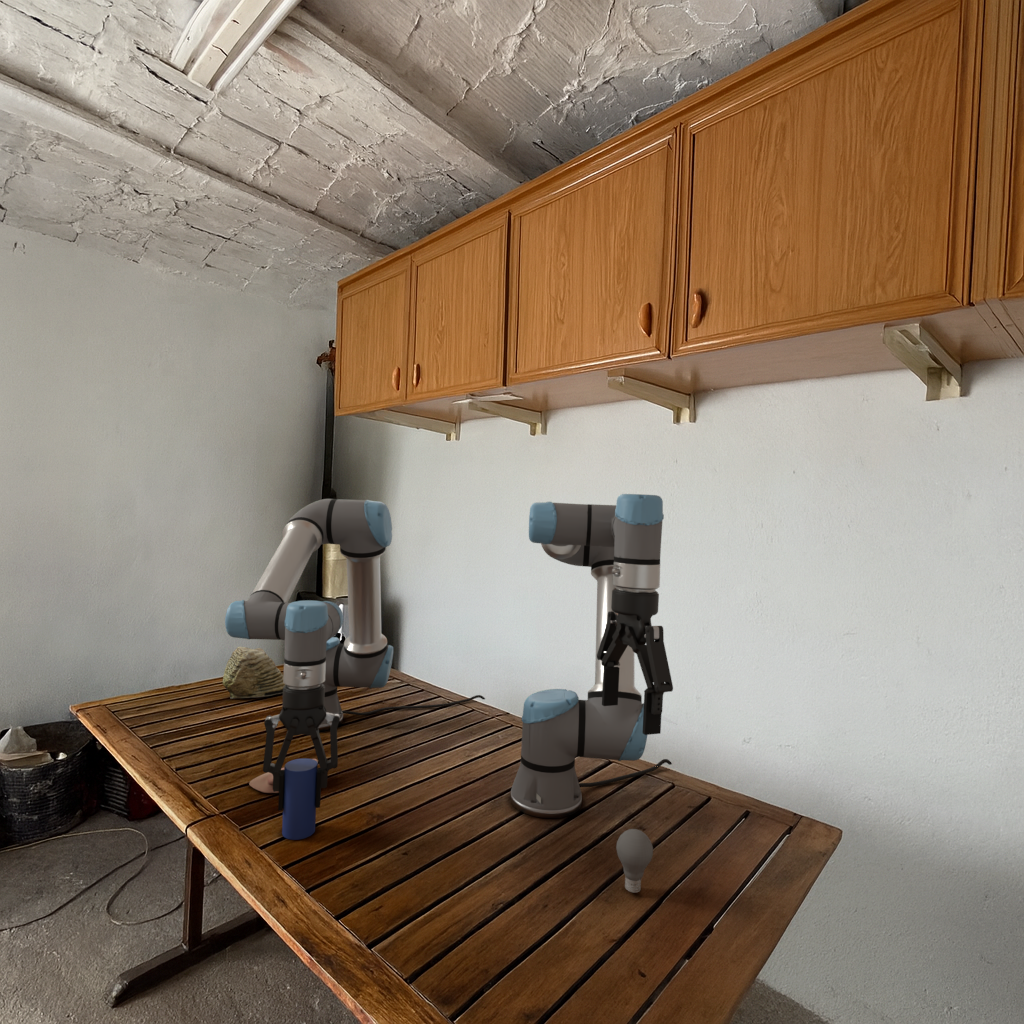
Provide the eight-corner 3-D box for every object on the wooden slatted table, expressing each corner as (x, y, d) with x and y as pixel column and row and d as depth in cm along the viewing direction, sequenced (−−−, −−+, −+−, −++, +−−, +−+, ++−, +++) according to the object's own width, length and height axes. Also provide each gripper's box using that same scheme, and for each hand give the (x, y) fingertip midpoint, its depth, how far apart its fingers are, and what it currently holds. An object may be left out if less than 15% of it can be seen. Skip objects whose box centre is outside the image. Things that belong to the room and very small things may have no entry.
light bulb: (610, 879, 108) (613, 822, 108) (644, 879, 109) (647, 822, 109) (619, 902, 102) (622, 840, 102) (655, 901, 103) (658, 840, 103)
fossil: (218, 695, 195) (220, 647, 195) (278, 685, 208) (279, 640, 207) (228, 703, 189) (230, 653, 188) (289, 692, 201) (290, 645, 201)
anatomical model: (241, 770, 135) (272, 750, 146) (240, 789, 135) (271, 767, 146) (297, 779, 132) (324, 757, 144) (297, 798, 132) (324, 775, 144)
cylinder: (278, 828, 120) (280, 762, 120) (309, 820, 124) (311, 755, 124) (287, 843, 116) (290, 774, 115) (319, 834, 119) (322, 766, 119)
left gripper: (247, 691, 113) (242, 819, 114) (356, 688, 118) (351, 811, 118) (253, 679, 120) (248, 800, 121) (355, 677, 125) (351, 792, 126)
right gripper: (581, 578, 114) (576, 696, 114) (656, 601, 90) (649, 749, 90) (618, 578, 116) (613, 693, 116) (701, 601, 92) (694, 745, 93)
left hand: (299, 805), depth 120 cm, fingers closed on cylinder, 6 cm apart
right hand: (629, 718), depth 103 cm, fingers open, 13 cm apart
